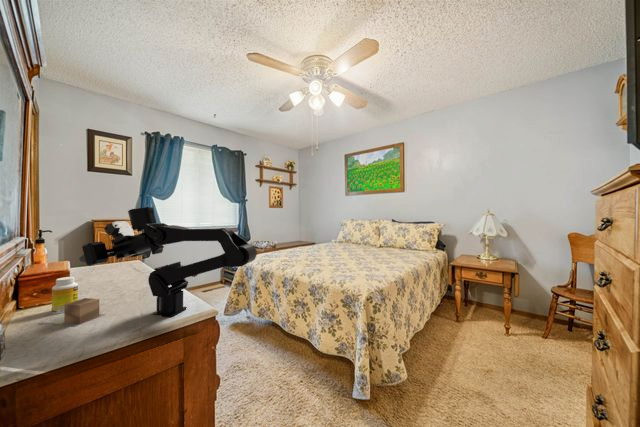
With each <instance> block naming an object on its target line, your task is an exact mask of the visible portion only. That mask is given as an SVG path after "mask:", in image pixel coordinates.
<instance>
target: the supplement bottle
mask: <svg viewBox="0 0 640 427" xmlns="http://www.w3.org/2000/svg"><path fill="white" fill-rule="evenodd" d="M77 300H79V284H78V282H75V277H74V276H66V277H65V276H64V277H60V278H56V280H55V285H53V286H52V288H51V314H56V315H57V314H64V304H67V303H71V302H74V301H77Z"/></svg>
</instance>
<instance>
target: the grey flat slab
mask: <svg viewBox="0 0 640 427" xmlns="http://www.w3.org/2000/svg"><path fill="white" fill-rule="evenodd" d="M106 315H107V314H105V313H99V317H96V318H94V319H91V320H89V321H86V322H84V323H81V324H73V323H64V313H62V314H61V315H58V316H55V317H52V318H49V319H46V320H43V321H40V322H38V323H37V324H38V325H45V326H46V325H49V326H60V327H71V328H72V327H73V328H75V327H78V326H80V325H83V324H85V323H89V322H91V321H93V320H96V319H99V318H101V317H103V316H106Z"/></svg>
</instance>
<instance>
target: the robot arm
mask: <svg viewBox="0 0 640 427" xmlns="http://www.w3.org/2000/svg"><path fill="white" fill-rule="evenodd" d="M127 213H128V217H129V221H130V224H129V222H128V221H125V220H121V221H120V220H119V221H117V220H116V221H114V222H110V223H107V224H106V226H104V229H103V230H104V231H105V233H106V234H107V236H111V237H112V238H113V239H110V241H111V244H112V248H107V246H106V243H105V242H103V241H95V242H94V241H91V242H88V243H84V244H83V245H82V246H81V248H82V251H83V254H82V255H81V256H80V257H79V261H80V262H81V263H82V262H83V263H86V265H87V266H89V267H91V266H96V265H101V264H104V263H107V262H108V260H109V258H112V257H116V259H117V260H118V259H124V258H135V257H141V256H142V257H143V256H144V255H147V254H148V252H149V251H151V252H150V253H151V255H158V254H162V253H163V251H164V248H165V245H171V244H177V243H183V242H218V243H219V244H220V246H221V249H222V250H223V253H222V254H220V255H218V256H217V255H216V256H212V257H210V258H207V259H203V260H201V261H197V262H193V263H190V264H189V263H188V264H186V265H185V264H184V265H183V264H181V261H175V262H173V263H169V264H165V265H162V266H158V267H155V268H154V270H153V271H151V272H150V273H149V276H148V284H149V287H150V291H151V293H152V294H151V295H152V296H153V297H156V312H153V313H152V315H154V316H161V317H170V318H171V317H174V316H176V315H178V314H179V313H182V312H183V311H185V310H186V308H187V306H184V289H187V287H188V285H189V281H188V280H187V278H191V277H194V276H197V275H198V276H199V275H201V274H204V273H207V272H211V271H215V270H218V269H222V268H239V267H240V268H241V267H244V266H245V265H247V264H249V263H252V262H254V261H255V260H256V259H257V255H258V253H257V248H256V247H255V246H254V245H253V244H251V243H248V242H247V240H245V238H243V237H242V236H240V235H238V234H237V232H235V231H234V230H233V229H232V228H231V227H219V228H189V227H184V226H181V225H175V224H173V225H171V224H170V225H168V224H167V223H164V222H160V223H159V222H158V223H157V219H156V217H155V210H154V206H145V207H140V208H139V207H138V208H132V209H129V210H128V211H127ZM135 231H137V233H138V232H141V233H138V234H135V233H134V232H135ZM184 309H185V310H184ZM187 309H188V308H187ZM181 311H182V312H181Z"/></svg>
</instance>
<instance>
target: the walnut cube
mask: <svg viewBox="0 0 640 427" xmlns="http://www.w3.org/2000/svg"><path fill="white" fill-rule="evenodd" d="M63 314H64V323H73V324H81V323H83V324H85V323H84V322H86V321H88V322H90V321H89V320H91V319H93V320H95V319H94V318H96V317H99V314H100V298H90V297H89V298H88V297H87V298H86V297H84V298H81V299H78V300H77V301H74V302H71V303H67V304H64V313H63ZM99 318H100V317H99ZM96 319H97V318H96ZM91 321H92V320H91ZM86 323H87V322H86ZM81 325H82V324H81Z"/></svg>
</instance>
